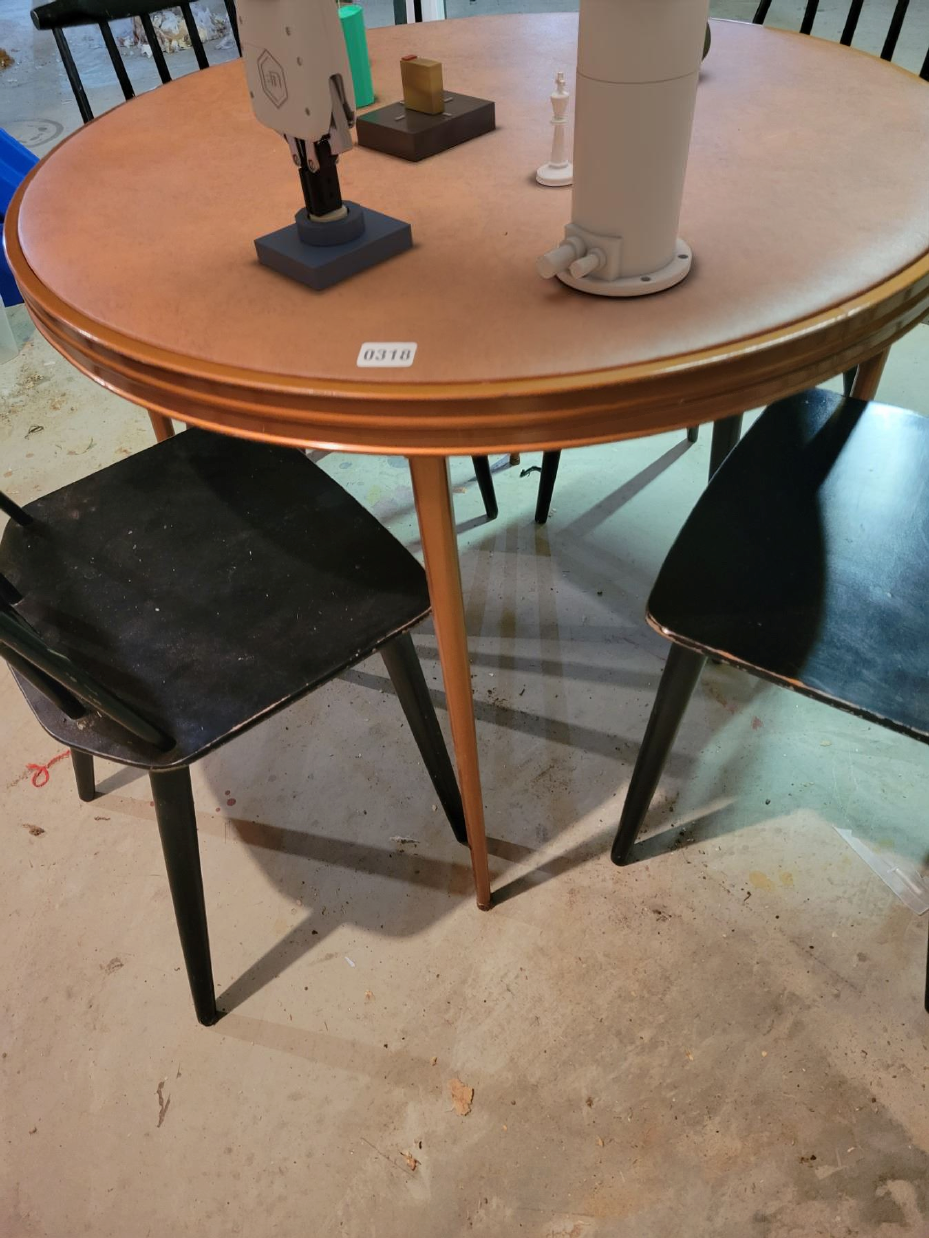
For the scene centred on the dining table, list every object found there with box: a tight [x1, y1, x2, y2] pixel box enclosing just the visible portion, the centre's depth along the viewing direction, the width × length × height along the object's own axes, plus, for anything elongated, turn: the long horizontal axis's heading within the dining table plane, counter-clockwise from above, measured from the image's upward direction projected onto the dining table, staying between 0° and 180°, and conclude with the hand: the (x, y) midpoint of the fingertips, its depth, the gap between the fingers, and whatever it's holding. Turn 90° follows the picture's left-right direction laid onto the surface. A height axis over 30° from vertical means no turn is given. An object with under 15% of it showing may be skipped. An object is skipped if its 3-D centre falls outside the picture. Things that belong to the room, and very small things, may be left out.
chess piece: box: [535, 71, 573, 187], centre depth 83 cm, size 5×5×10 cm
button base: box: [253, 199, 414, 292], centre depth 76 cm, size 12×10×4 cm
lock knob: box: [399, 53, 445, 115], centre depth 95 cm, size 5×2×5 cm, turn 44°
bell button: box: [310, 205, 348, 222], centre depth 75 cm, size 4×4×2 cm
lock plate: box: [354, 89, 496, 163], centre depth 98 cm, size 14×11×3 cm
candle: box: [338, 0, 375, 109], centre depth 106 cm, size 6×6×12 cm
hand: (325, 210), depth 74 cm, fingers closed
